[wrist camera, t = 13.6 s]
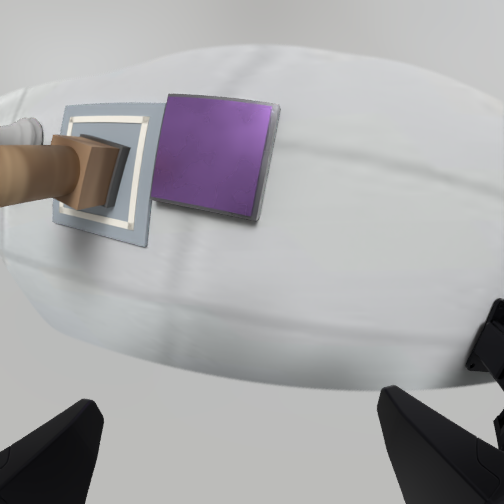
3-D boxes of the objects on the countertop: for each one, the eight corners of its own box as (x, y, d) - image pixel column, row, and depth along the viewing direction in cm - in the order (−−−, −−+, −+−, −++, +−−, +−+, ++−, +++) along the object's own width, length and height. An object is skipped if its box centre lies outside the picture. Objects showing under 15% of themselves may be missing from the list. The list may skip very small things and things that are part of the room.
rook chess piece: (28, 173, 21) (-38, 181, 13) (15, 141, 20) (-46, 143, 13) (50, 139, 20) (-22, 139, 12) (36, 108, 19) (-29, 102, 11)
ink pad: (280, 109, 16) (278, 102, 15) (259, 218, 18) (254, 222, 17) (176, 97, 17) (165, 91, 15) (158, 198, 19) (146, 200, 17)
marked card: (168, 104, 17) (165, 102, 17) (147, 245, 20) (143, 247, 20) (68, 106, 18) (64, 105, 18) (55, 221, 21) (51, 222, 21)
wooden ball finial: (130, 147, 18) (-69, 144, 4) (114, 206, 19) (-71, 259, 6) (88, 134, 18) (-84, 131, 5) (75, 188, 20) (-89, 222, 6)
